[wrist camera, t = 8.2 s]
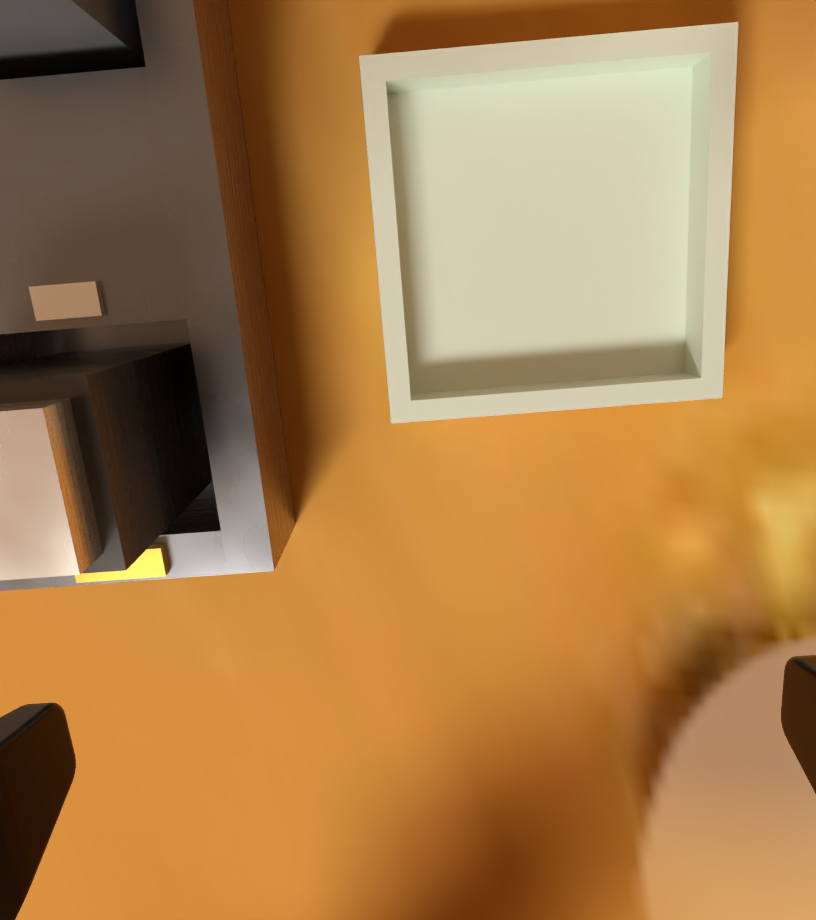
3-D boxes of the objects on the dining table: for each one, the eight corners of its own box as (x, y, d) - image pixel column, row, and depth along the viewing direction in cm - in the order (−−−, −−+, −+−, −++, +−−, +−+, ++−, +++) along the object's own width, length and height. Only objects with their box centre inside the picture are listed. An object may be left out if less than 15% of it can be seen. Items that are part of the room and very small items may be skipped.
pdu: (193, -253, 16) (-25, -787, 8) (295, 524, 22) (224, 677, 13) (-131, -220, 16) (-667, -712, 8) (48, 543, 22) (-172, 705, 14)
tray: (708, 45, 18) (738, 21, 16) (696, 388, 20) (722, 397, 19) (363, 75, 18) (358, 56, 17) (392, 411, 21) (391, 423, 19)
